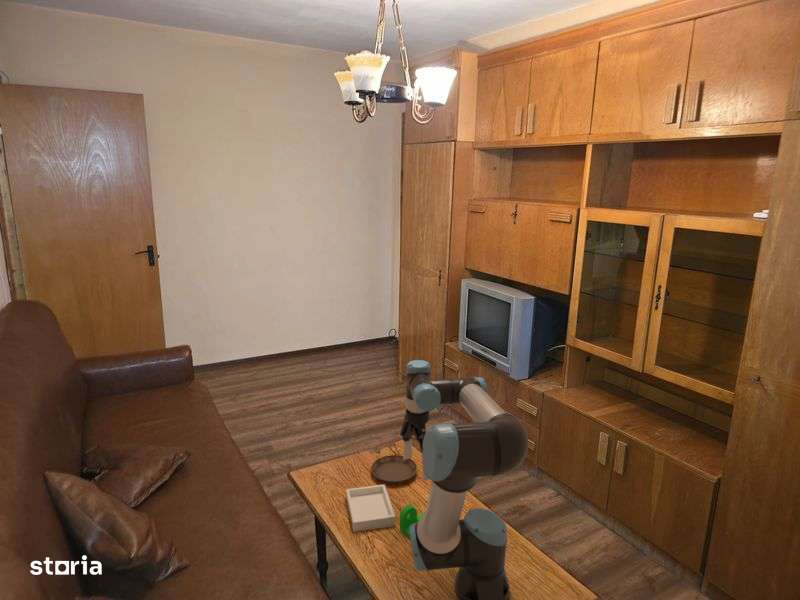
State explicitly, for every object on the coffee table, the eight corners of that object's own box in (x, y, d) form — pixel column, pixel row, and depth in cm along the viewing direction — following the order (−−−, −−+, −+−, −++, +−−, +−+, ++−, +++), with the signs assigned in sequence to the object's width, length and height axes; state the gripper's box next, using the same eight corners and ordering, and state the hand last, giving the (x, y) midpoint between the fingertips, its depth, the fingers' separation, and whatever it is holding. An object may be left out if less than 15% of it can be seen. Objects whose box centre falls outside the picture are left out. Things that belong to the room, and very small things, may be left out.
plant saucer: (364, 482, 194) (364, 475, 193) (379, 458, 210) (379, 451, 209) (409, 491, 189) (409, 484, 188) (421, 465, 205) (422, 459, 204)
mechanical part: (410, 540, 165) (410, 518, 162) (399, 529, 169) (400, 508, 167) (439, 526, 171) (440, 505, 169) (428, 516, 176) (429, 495, 174)
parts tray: (395, 525, 171) (395, 516, 170) (353, 531, 168) (353, 522, 167) (384, 492, 188) (384, 484, 187) (346, 497, 184) (345, 489, 184)
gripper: (447, 422, 154) (445, 486, 159) (410, 391, 176) (410, 448, 181) (425, 427, 151) (424, 492, 156) (390, 395, 173) (390, 452, 178)
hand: (416, 468), depth 168 cm, fingers open, 13 cm apart
